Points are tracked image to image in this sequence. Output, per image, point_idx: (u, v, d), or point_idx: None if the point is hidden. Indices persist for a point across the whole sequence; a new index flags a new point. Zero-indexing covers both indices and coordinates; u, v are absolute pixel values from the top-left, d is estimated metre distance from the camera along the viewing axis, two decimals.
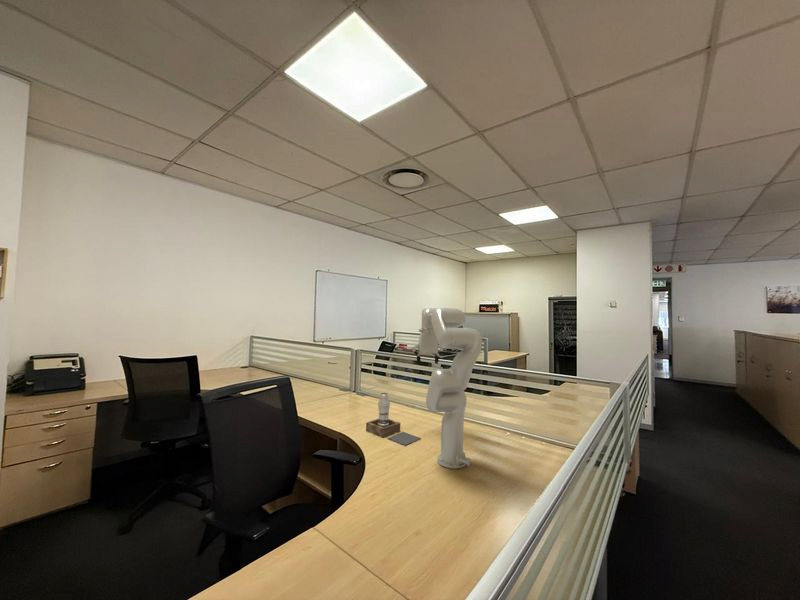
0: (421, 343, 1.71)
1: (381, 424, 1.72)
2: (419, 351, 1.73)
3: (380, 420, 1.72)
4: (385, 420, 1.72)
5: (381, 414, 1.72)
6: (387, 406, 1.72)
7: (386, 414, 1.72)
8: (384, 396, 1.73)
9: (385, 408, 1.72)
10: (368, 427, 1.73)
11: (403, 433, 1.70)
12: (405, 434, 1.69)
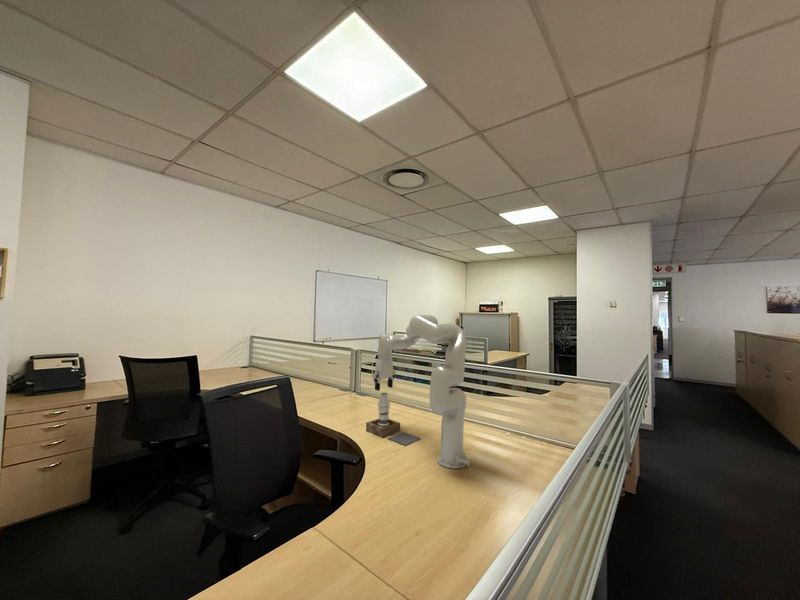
0: None
1: (381, 424, 1.72)
2: None
3: (380, 420, 1.72)
4: (385, 420, 1.72)
5: (381, 414, 1.72)
6: (387, 406, 1.72)
7: (386, 414, 1.72)
8: (384, 396, 1.73)
9: (385, 408, 1.72)
10: (368, 427, 1.73)
11: (403, 433, 1.70)
12: (405, 434, 1.69)
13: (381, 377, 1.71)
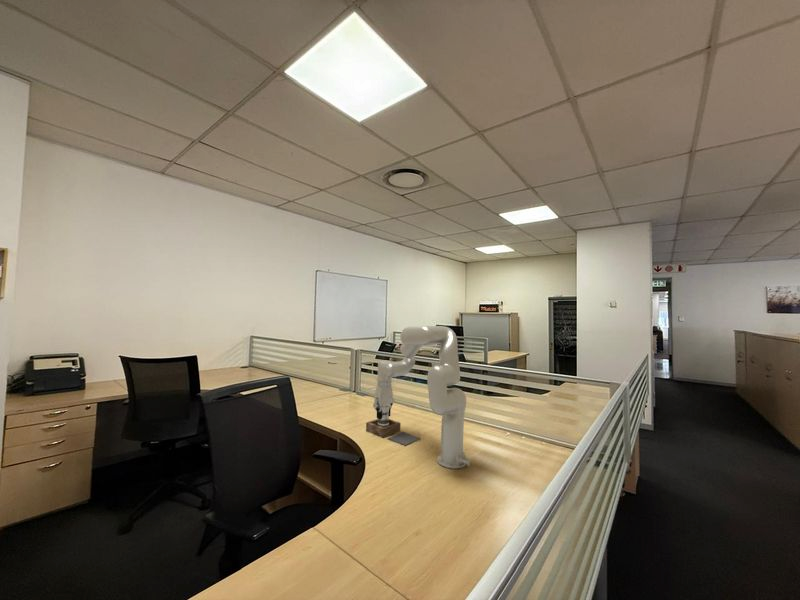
0: None
1: (381, 424, 1.72)
2: None
3: (380, 420, 1.72)
4: (385, 420, 1.72)
5: None
6: (387, 406, 1.72)
7: (386, 414, 1.72)
8: None
9: (385, 408, 1.72)
10: (368, 427, 1.73)
11: (403, 433, 1.70)
12: (405, 434, 1.69)
13: (381, 404, 1.71)
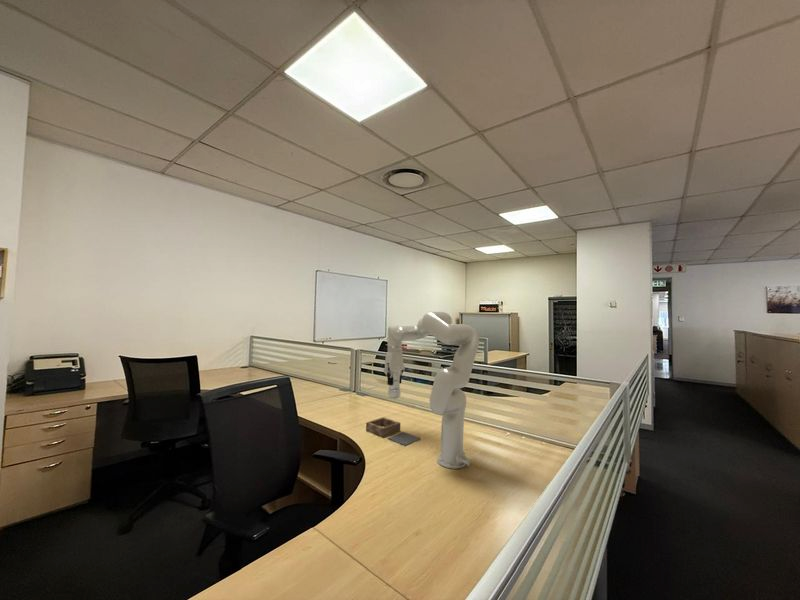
0: None
1: (393, 390, 1.67)
2: None
3: (391, 386, 1.68)
4: (396, 386, 1.68)
5: None
6: (398, 372, 1.68)
7: (397, 380, 1.68)
8: None
9: (395, 374, 1.67)
10: (368, 427, 1.73)
11: (403, 433, 1.70)
12: (405, 434, 1.69)
13: (392, 370, 1.66)
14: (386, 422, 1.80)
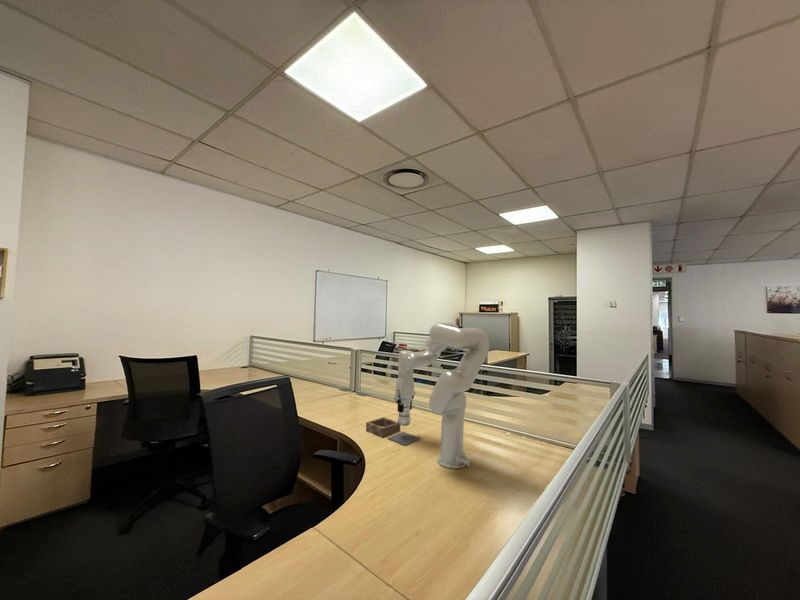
0: None
1: (403, 417, 1.62)
2: None
3: (401, 413, 1.63)
4: (406, 413, 1.62)
5: None
6: (409, 398, 1.62)
7: (407, 407, 1.63)
8: None
9: (406, 401, 1.62)
10: (368, 427, 1.73)
11: (403, 433, 1.70)
12: (405, 434, 1.69)
13: (402, 397, 1.61)
14: (386, 422, 1.80)
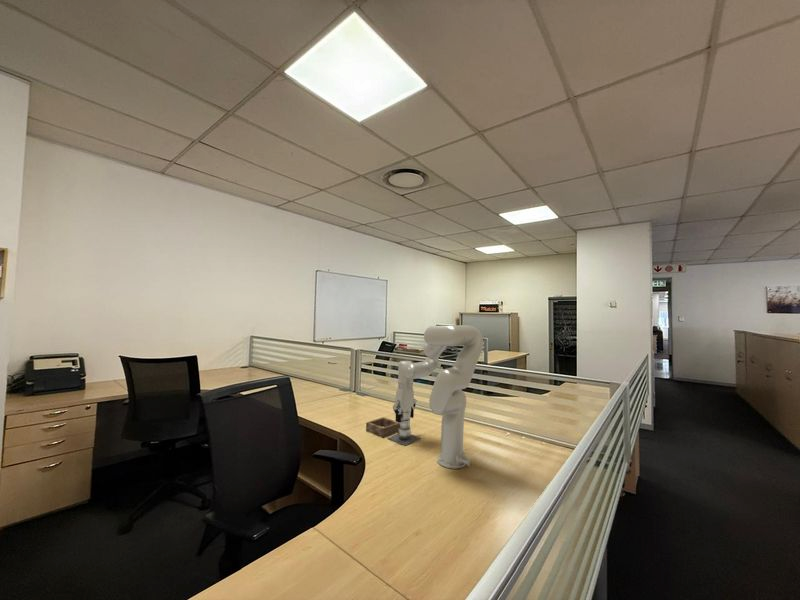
0: None
1: (403, 430, 1.61)
2: None
3: (401, 426, 1.62)
4: (406, 426, 1.62)
5: (402, 420, 1.62)
6: (408, 411, 1.62)
7: (407, 420, 1.62)
8: None
9: (406, 414, 1.61)
10: (368, 427, 1.73)
11: None
12: None
13: (402, 408, 1.61)
14: (386, 422, 1.80)
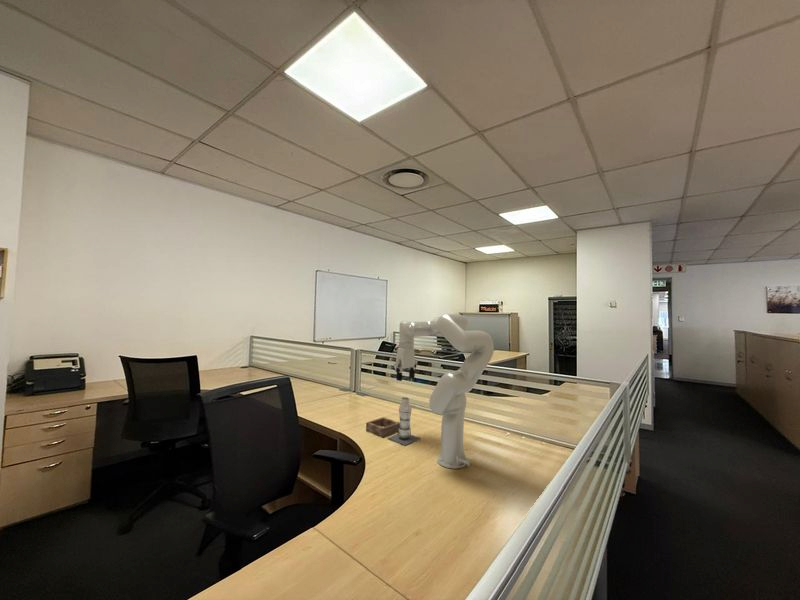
0: None
1: (403, 430, 1.61)
2: None
3: (401, 426, 1.62)
4: (406, 426, 1.62)
5: (402, 420, 1.62)
6: (409, 411, 1.62)
7: (408, 420, 1.62)
8: (405, 401, 1.63)
9: (406, 414, 1.62)
10: (368, 427, 1.73)
11: None
12: None
13: (403, 366, 1.61)
14: (386, 422, 1.80)
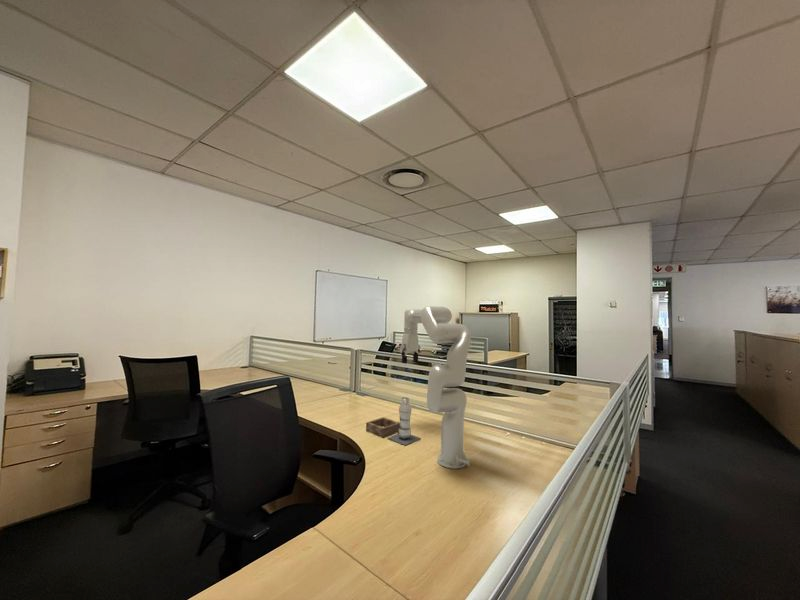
0: None
1: (403, 430, 1.61)
2: None
3: (401, 426, 1.62)
4: (406, 426, 1.62)
5: (402, 420, 1.62)
6: (409, 411, 1.62)
7: (408, 420, 1.62)
8: (405, 401, 1.63)
9: (406, 414, 1.62)
10: (368, 427, 1.73)
11: None
12: None
13: (408, 350, 1.78)
14: (386, 422, 1.80)
